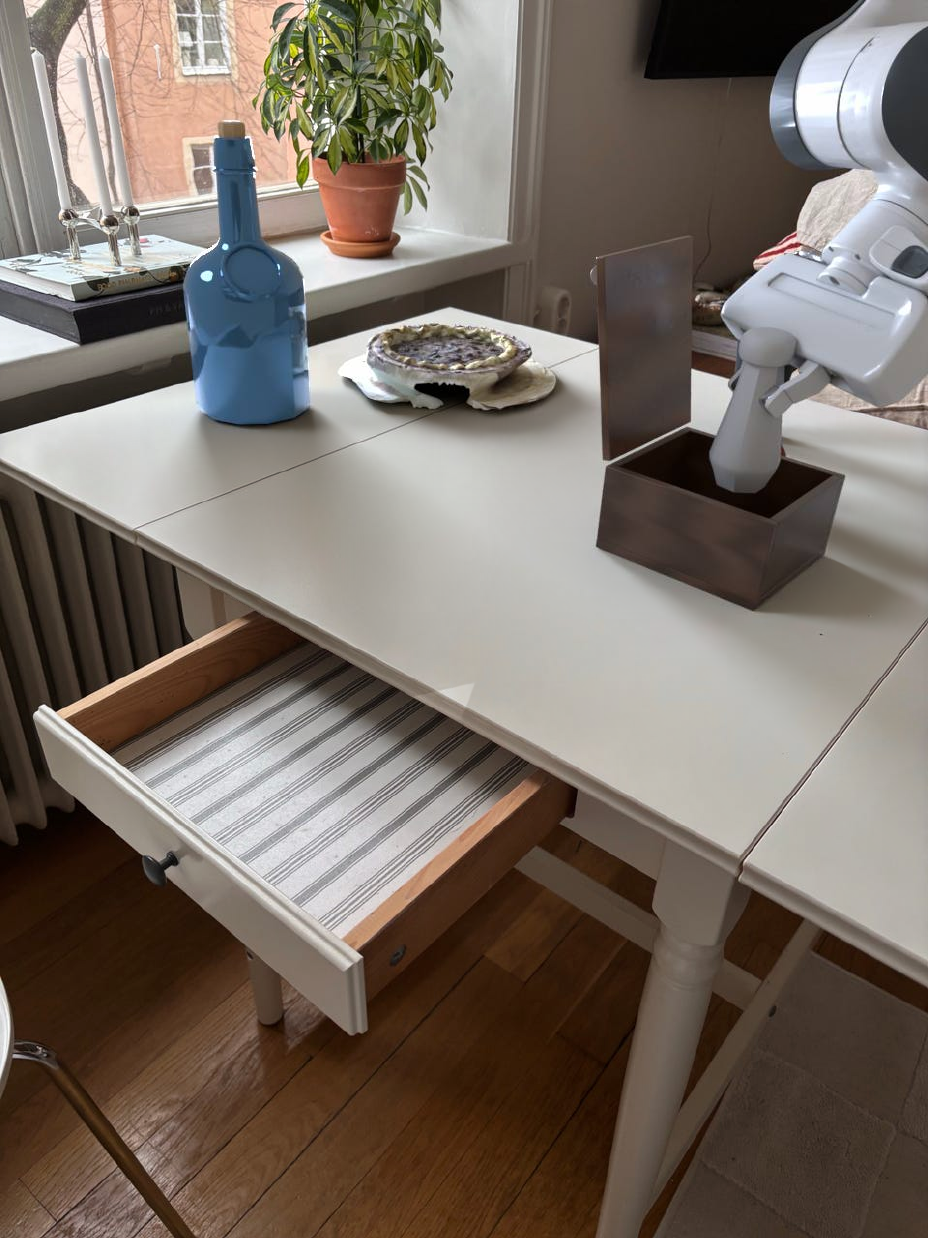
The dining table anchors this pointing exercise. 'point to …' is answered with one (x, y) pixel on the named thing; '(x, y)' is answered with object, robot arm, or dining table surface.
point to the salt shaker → (752, 414)
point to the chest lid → (644, 342)
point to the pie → (449, 366)
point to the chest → (716, 519)
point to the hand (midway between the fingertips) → (750, 401)
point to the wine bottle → (245, 305)
